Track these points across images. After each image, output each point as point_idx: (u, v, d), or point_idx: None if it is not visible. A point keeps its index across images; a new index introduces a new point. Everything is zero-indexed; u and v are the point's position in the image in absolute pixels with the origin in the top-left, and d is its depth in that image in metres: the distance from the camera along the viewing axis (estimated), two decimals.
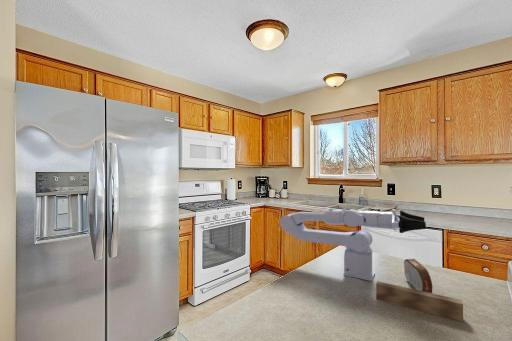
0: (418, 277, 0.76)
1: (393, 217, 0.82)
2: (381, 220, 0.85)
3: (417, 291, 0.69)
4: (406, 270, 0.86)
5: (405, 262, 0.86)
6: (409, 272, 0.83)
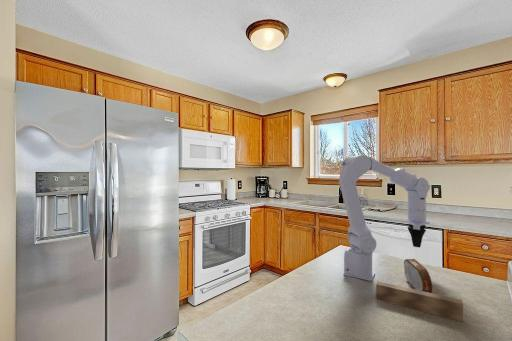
0: (418, 277, 0.76)
1: (422, 224, 0.89)
2: (417, 213, 0.90)
3: (417, 291, 0.69)
4: (406, 270, 0.86)
5: (405, 262, 0.86)
6: (409, 272, 0.83)
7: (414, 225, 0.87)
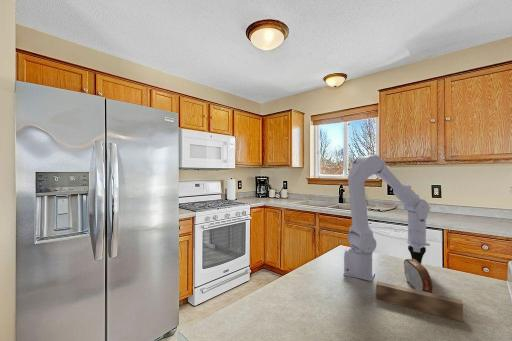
0: (418, 277, 0.76)
1: (422, 246, 0.89)
2: (417, 234, 0.90)
3: (417, 291, 0.69)
4: (406, 270, 0.86)
5: (405, 262, 0.86)
6: (409, 272, 0.83)
7: (414, 248, 0.87)
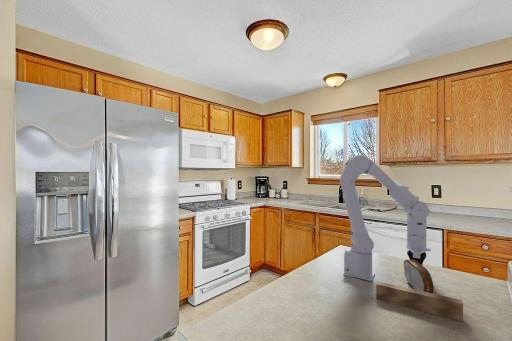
0: (419, 278, 0.76)
1: (423, 251, 0.83)
2: (417, 239, 0.84)
3: (417, 291, 0.69)
4: (406, 271, 0.85)
5: (405, 263, 0.85)
6: (409, 273, 0.82)
7: (414, 253, 0.81)
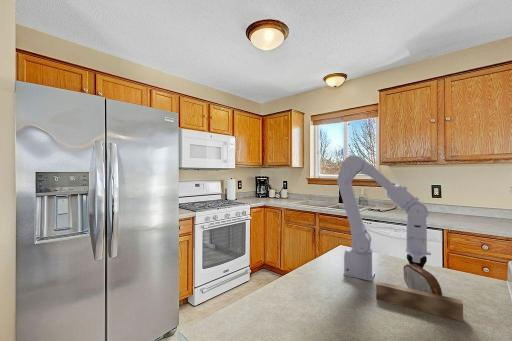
0: (425, 285, 0.71)
1: (423, 255, 0.79)
2: (417, 242, 0.80)
3: (417, 291, 0.69)
4: (407, 276, 0.81)
5: (405, 268, 0.81)
6: (411, 278, 0.78)
7: (413, 257, 0.77)
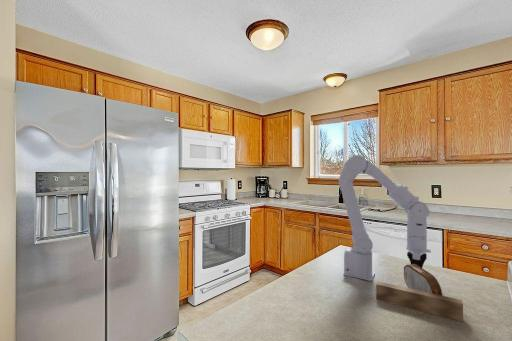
0: (425, 285, 0.71)
1: (423, 253, 0.81)
2: (417, 240, 0.83)
3: (417, 291, 0.69)
4: (407, 276, 0.81)
5: (406, 268, 0.81)
6: (411, 279, 0.78)
7: (414, 255, 0.80)
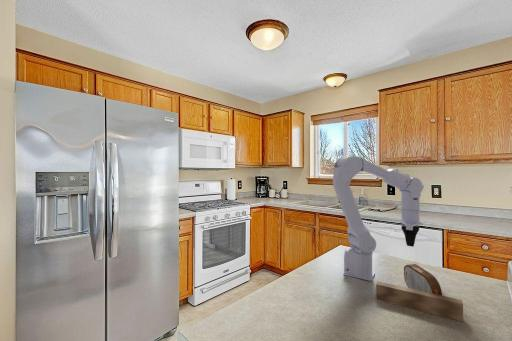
0: (425, 285, 0.71)
1: (415, 224, 0.88)
2: (411, 213, 0.90)
3: (417, 291, 0.69)
4: (407, 276, 0.81)
5: (406, 268, 0.81)
6: (411, 279, 0.78)
7: (407, 226, 0.86)
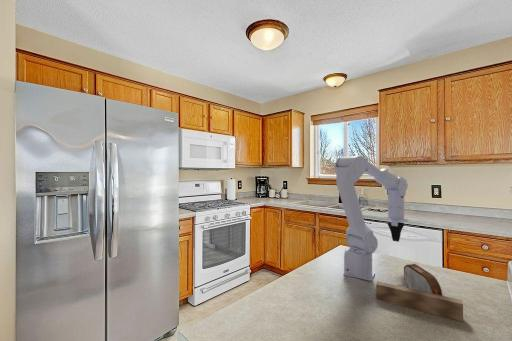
0: (425, 285, 0.71)
1: (400, 221, 0.94)
2: (396, 210, 0.96)
3: (417, 291, 0.69)
4: (407, 276, 0.81)
5: (406, 268, 0.81)
6: (411, 279, 0.78)
7: (392, 222, 0.93)
